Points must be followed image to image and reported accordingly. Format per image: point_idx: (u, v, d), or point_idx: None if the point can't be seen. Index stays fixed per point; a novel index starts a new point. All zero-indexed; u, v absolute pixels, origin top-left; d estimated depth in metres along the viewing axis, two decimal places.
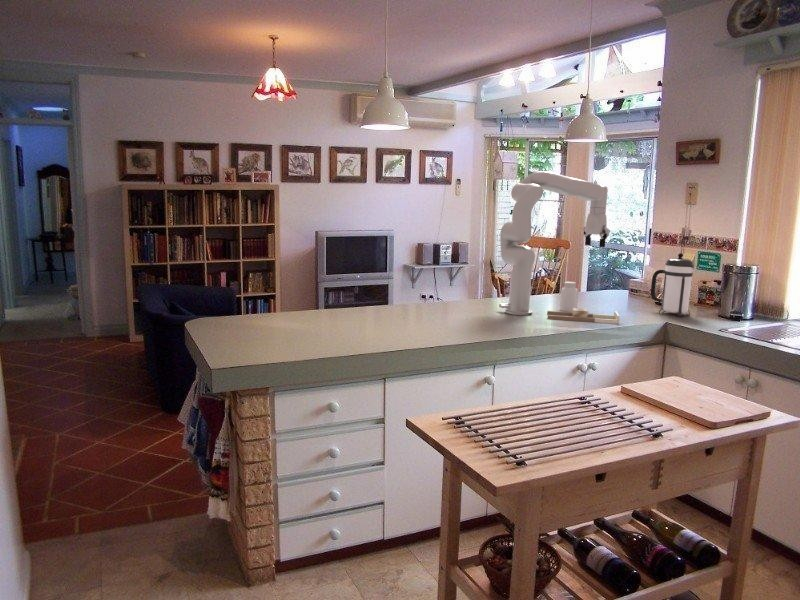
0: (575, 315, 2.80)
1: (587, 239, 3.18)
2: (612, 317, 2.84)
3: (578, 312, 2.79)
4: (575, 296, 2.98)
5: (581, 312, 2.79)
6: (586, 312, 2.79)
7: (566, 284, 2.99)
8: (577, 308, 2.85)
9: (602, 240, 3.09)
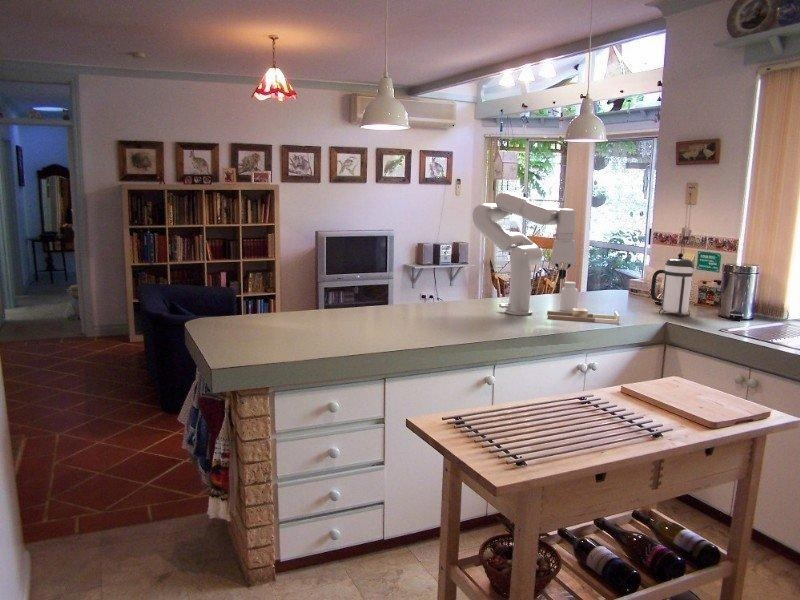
0: (575, 315, 2.80)
1: (562, 272, 2.80)
2: (612, 317, 2.84)
3: (578, 312, 2.79)
4: (575, 296, 2.98)
5: (581, 312, 2.79)
6: (586, 312, 2.79)
7: (566, 284, 2.99)
8: (577, 308, 2.85)
9: (565, 271, 2.80)
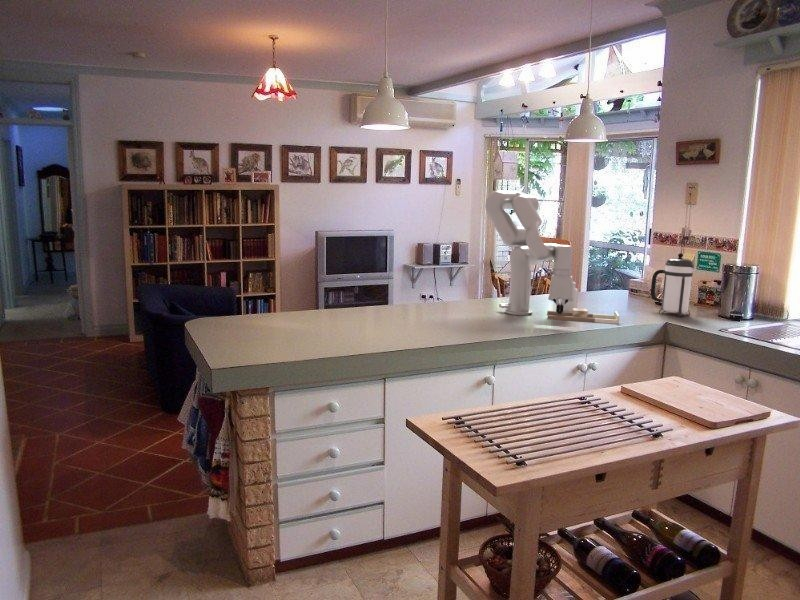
0: (575, 315, 2.80)
1: None
2: (612, 317, 2.84)
3: (578, 312, 2.79)
4: (575, 296, 2.98)
5: (581, 312, 2.79)
6: (586, 312, 2.79)
7: None
8: (577, 308, 2.85)
9: (562, 306, 2.83)
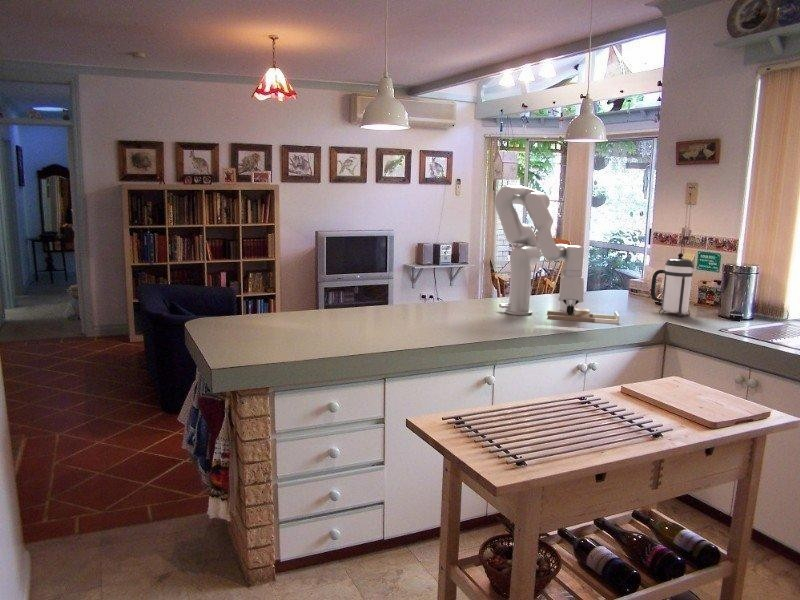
0: (577, 315, 2.80)
1: (570, 308, 2.82)
2: (612, 317, 2.84)
3: (580, 312, 2.79)
4: None
5: (583, 312, 2.79)
6: (588, 312, 2.79)
7: None
8: None
9: (573, 307, 2.82)
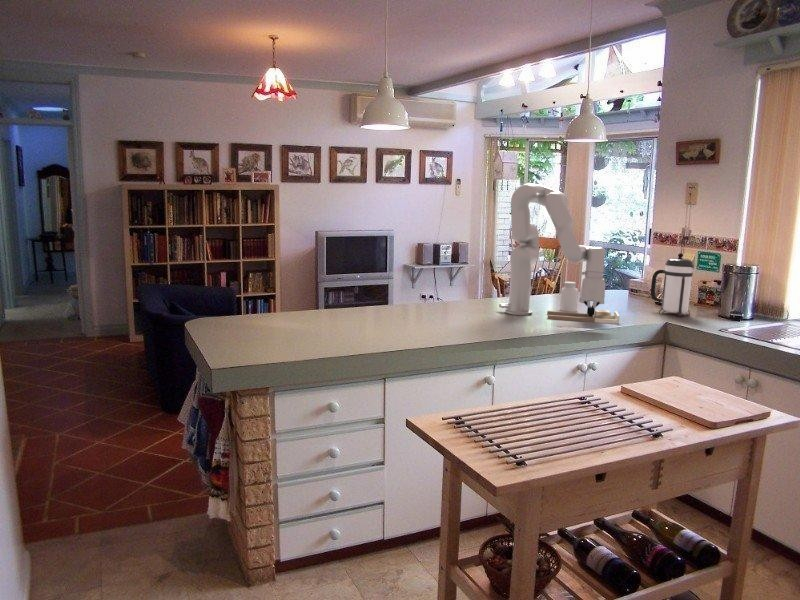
0: (598, 316, 2.78)
1: None
2: (612, 317, 2.84)
3: (601, 313, 2.78)
4: (575, 296, 2.98)
5: (604, 313, 2.78)
6: (609, 313, 2.77)
7: (566, 284, 2.99)
8: None
9: (593, 309, 2.80)
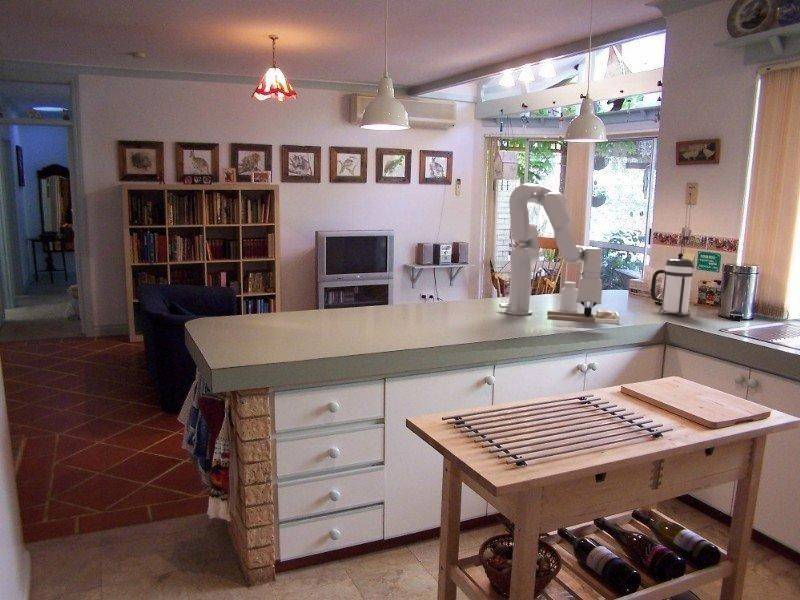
0: (600, 317, 2.78)
1: None
2: (612, 317, 2.84)
3: (603, 314, 2.78)
4: (575, 296, 2.98)
5: (606, 314, 2.77)
6: (611, 314, 2.77)
7: (566, 284, 2.99)
8: (601, 310, 2.83)
9: (590, 309, 2.80)
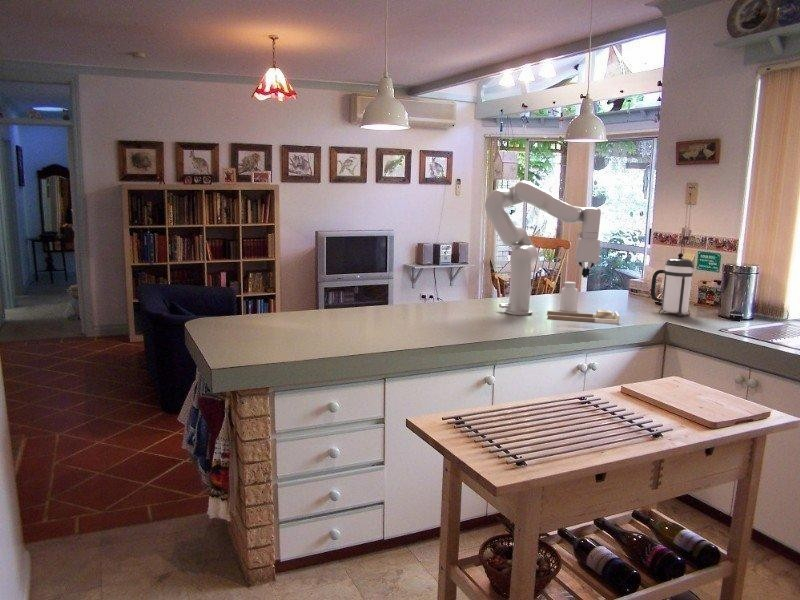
0: (600, 317, 2.78)
1: None
2: (612, 317, 2.84)
3: (603, 314, 2.78)
4: (575, 296, 2.98)
5: (606, 314, 2.77)
6: (611, 314, 2.77)
7: (566, 284, 2.99)
8: (601, 310, 2.83)
9: (588, 270, 2.81)
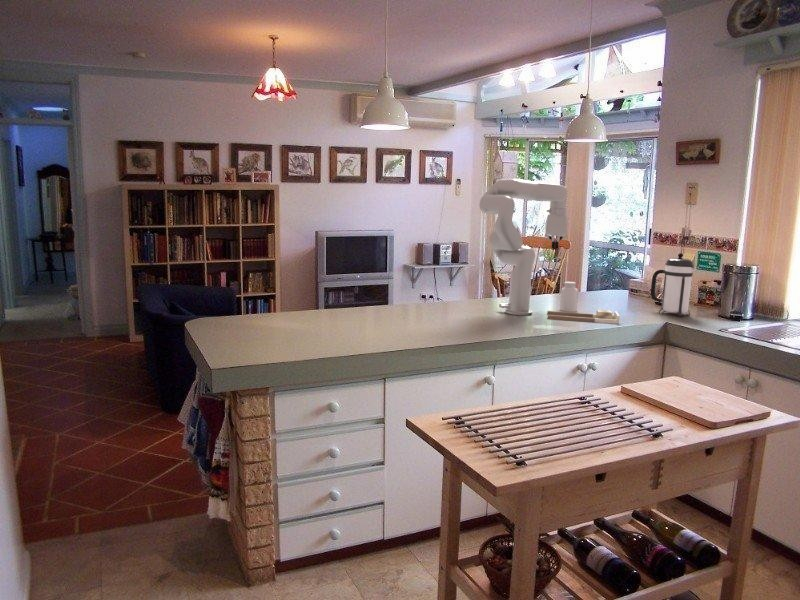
0: (600, 317, 2.78)
1: None
2: (612, 317, 2.84)
3: (603, 314, 2.78)
4: (575, 296, 2.98)
5: (606, 314, 2.77)
6: (611, 314, 2.77)
7: (566, 284, 2.99)
8: (601, 310, 2.83)
9: (557, 243, 3.09)
